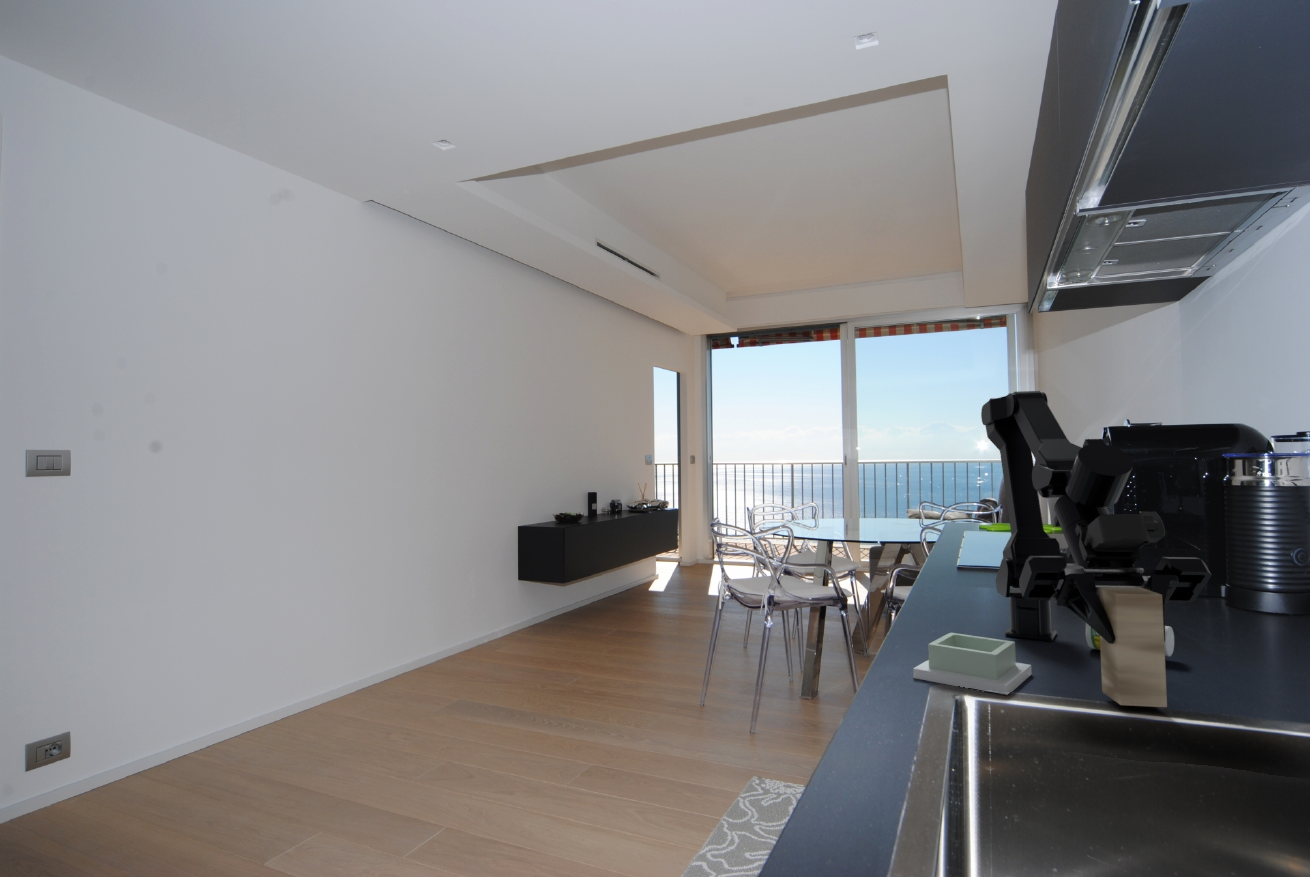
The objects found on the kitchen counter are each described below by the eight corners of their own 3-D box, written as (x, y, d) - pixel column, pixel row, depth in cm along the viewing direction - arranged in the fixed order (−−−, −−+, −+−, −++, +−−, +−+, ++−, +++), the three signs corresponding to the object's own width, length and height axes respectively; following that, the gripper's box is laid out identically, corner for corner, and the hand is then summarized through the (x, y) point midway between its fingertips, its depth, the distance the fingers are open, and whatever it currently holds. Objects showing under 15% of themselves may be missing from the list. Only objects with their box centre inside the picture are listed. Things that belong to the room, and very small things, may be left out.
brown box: (1102, 691, 79) (1097, 586, 80) (1145, 693, 78) (1141, 587, 79) (1120, 705, 75) (1116, 594, 75) (1167, 707, 74) (1162, 594, 75)
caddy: (944, 659, 96) (943, 629, 96) (1031, 674, 89) (1030, 641, 89) (913, 677, 88) (912, 644, 88) (1006, 696, 80) (1005, 659, 81)
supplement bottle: (1091, 655, 101) (1171, 670, 93) (1081, 632, 99) (1161, 645, 91) (1100, 626, 103) (1178, 638, 96) (1090, 603, 101) (1169, 613, 94)
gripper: (1023, 489, 83) (1062, 598, 72) (1197, 487, 80) (1267, 602, 68) (1005, 546, 91) (1038, 654, 79) (1164, 548, 87) (1222, 660, 76)
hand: (1137, 642), depth 76 cm, fingers closed on brown box, 4 cm apart
